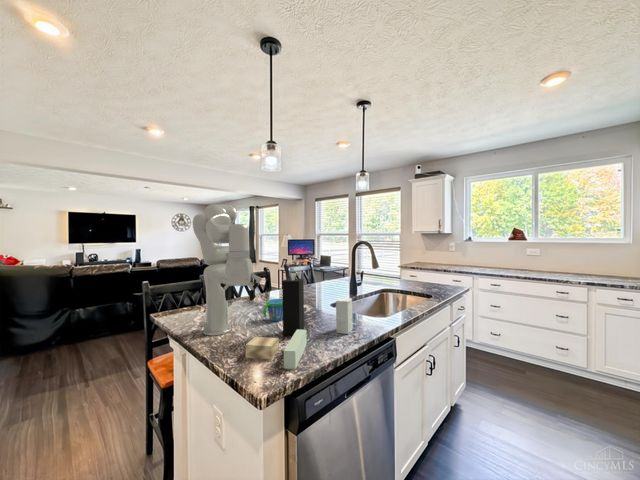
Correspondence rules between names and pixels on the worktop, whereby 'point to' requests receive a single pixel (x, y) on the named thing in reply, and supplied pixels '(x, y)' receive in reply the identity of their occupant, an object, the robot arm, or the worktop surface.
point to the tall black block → (293, 305)
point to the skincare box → (344, 315)
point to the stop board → (295, 349)
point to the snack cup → (274, 309)
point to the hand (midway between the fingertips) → (240, 300)
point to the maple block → (262, 348)
